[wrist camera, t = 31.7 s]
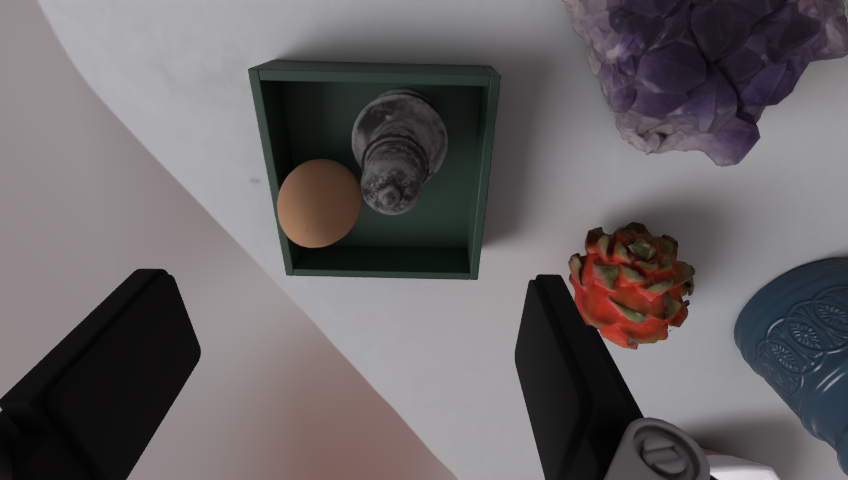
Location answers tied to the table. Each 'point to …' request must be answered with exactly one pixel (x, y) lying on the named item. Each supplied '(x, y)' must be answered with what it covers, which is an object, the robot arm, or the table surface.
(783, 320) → the canister
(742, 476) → the bowl
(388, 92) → the grey tall stone piece
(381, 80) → the box
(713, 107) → the geode
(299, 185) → the egg
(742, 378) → the table surface
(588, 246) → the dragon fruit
